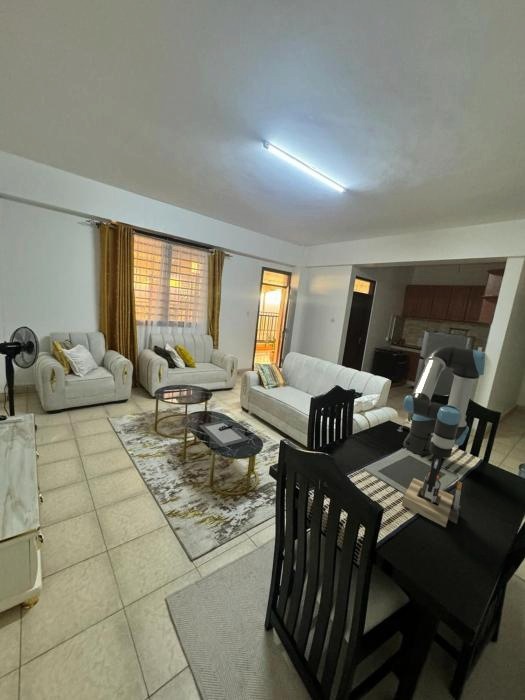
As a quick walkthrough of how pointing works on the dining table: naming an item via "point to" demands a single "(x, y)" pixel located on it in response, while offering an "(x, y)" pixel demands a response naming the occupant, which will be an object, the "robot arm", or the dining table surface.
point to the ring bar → (457, 496)
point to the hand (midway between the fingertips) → (429, 493)
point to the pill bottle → (436, 490)
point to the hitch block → (430, 504)
